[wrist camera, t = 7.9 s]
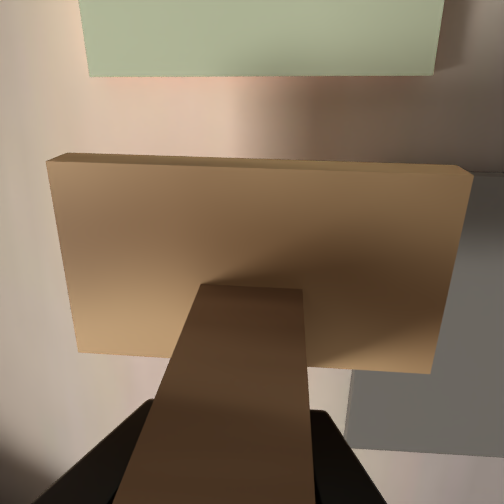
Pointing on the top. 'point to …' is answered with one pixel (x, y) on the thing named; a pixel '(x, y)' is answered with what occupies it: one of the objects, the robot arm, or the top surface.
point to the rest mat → (449, 356)
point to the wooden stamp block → (251, 299)
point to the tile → (260, 37)
